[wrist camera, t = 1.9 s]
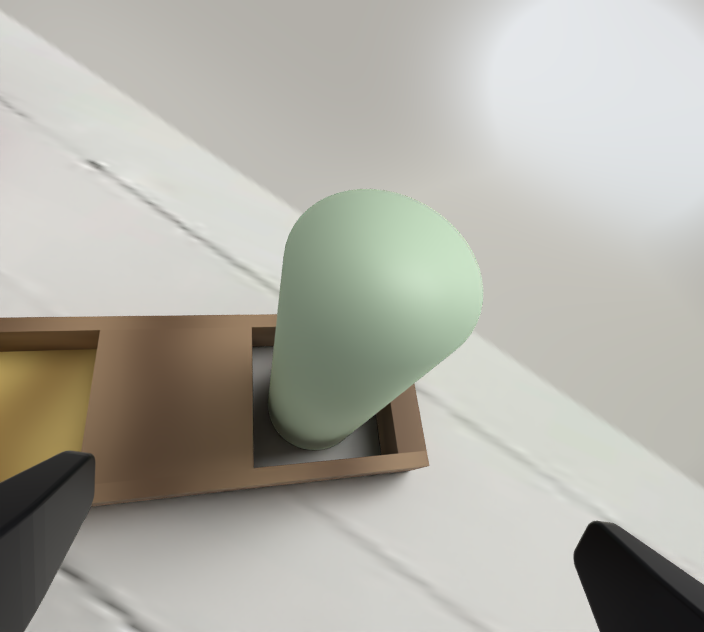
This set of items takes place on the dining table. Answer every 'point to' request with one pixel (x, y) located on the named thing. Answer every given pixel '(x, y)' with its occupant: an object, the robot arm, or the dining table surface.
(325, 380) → the peg
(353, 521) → the dining table surface
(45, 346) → the wooden compartment tray
